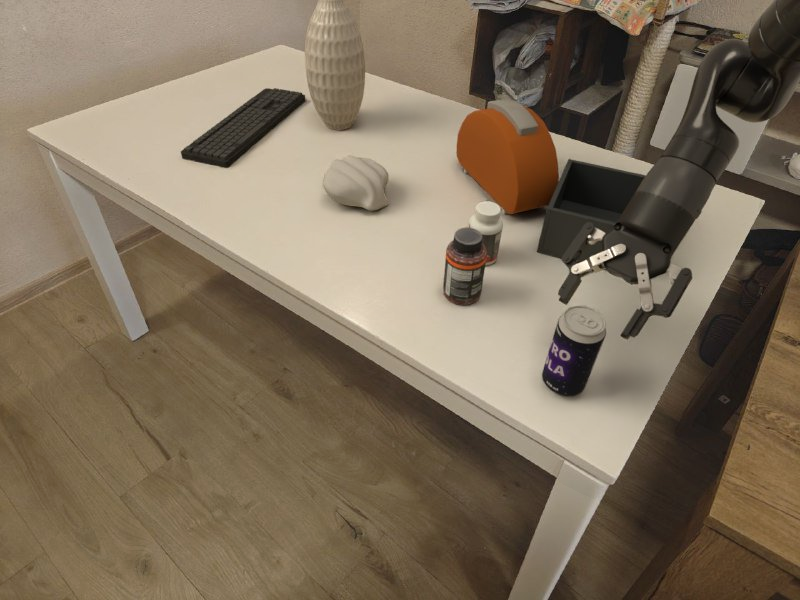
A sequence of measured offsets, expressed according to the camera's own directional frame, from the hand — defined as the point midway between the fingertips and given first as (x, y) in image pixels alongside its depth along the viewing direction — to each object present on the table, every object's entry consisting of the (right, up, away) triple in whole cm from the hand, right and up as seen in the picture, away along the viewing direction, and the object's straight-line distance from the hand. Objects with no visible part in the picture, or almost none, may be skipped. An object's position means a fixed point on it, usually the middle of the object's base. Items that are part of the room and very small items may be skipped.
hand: (592, 319), depth 67 cm
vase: (-38, +43, +59) cm, 83 cm away
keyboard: (-58, +42, +58) cm, 92 cm away
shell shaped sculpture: (-32, +22, +37) cm, 53 cm away
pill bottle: (-10, +10, +24) cm, 28 cm away
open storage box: (+10, +14, +29) cm, 34 cm away
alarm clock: (-4, +24, +40) cm, 47 cm away
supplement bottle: (-14, +3, +18) cm, 23 cm away
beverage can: (-2, -9, +5) cm, 10 cm away
